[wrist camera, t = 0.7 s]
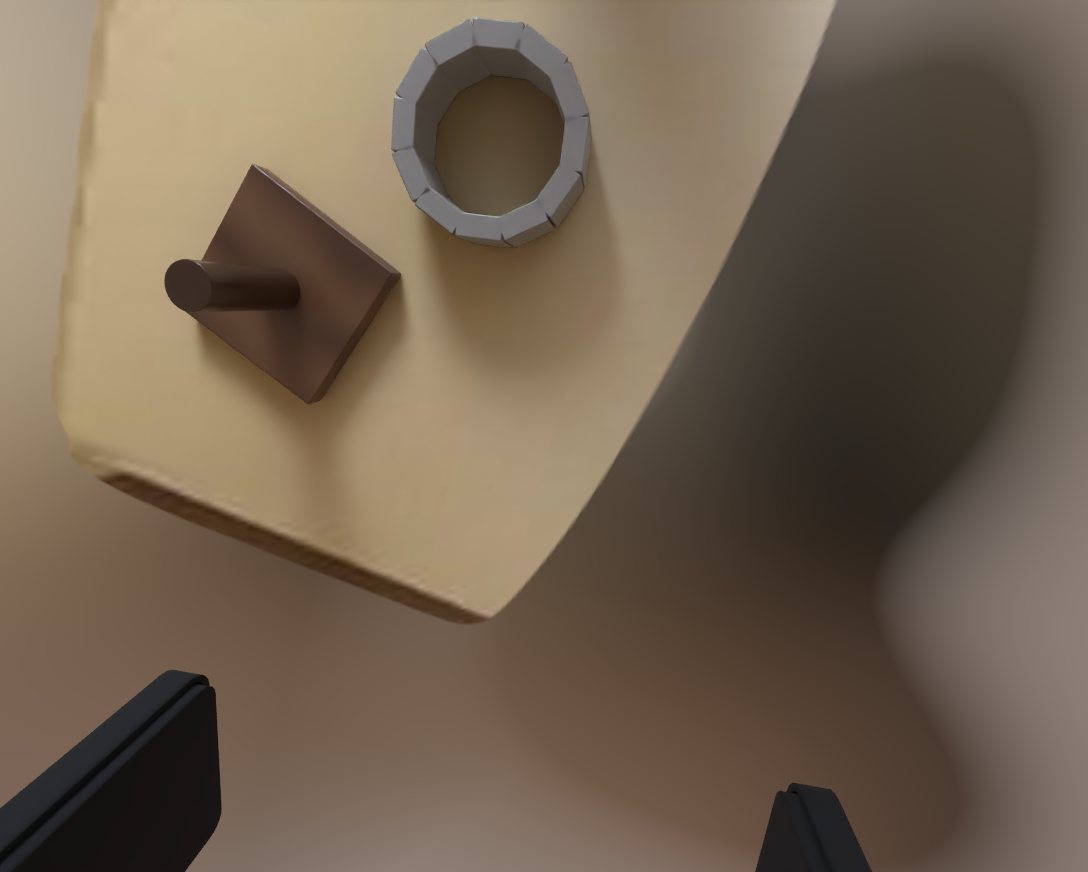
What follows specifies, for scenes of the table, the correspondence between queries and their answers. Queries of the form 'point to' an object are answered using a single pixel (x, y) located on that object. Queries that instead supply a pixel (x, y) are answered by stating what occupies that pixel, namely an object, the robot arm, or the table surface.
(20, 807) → the robot arm
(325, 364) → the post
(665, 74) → the table surface
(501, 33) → the tape roll
